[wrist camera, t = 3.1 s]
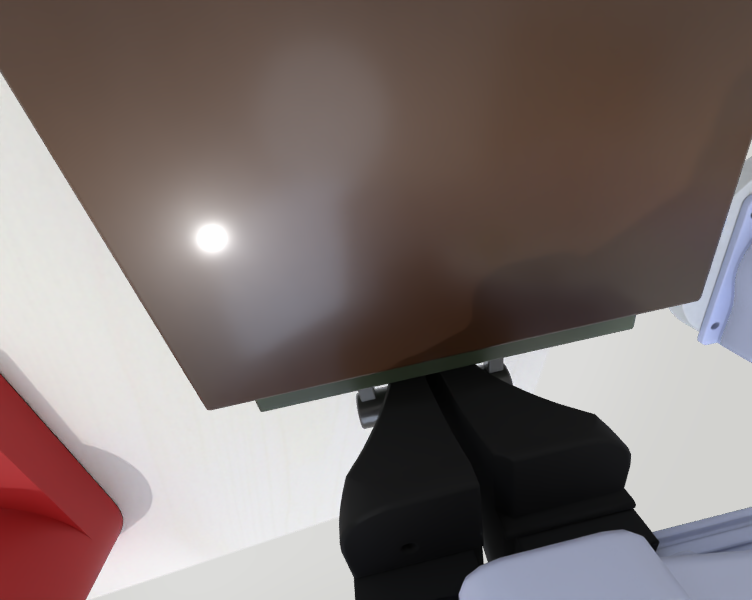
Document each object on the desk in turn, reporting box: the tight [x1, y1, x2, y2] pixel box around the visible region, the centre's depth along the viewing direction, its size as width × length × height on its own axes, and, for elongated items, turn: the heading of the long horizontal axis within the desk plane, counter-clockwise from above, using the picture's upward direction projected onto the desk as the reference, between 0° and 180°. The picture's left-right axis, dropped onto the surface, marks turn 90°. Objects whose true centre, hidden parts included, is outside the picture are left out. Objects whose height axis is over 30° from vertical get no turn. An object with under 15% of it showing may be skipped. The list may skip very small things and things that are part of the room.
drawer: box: [255, 315, 636, 429], centre depth 10 cm, size 17×10×7 cm, turn 11°
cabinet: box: [0, 0, 752, 410], centre depth 8 cm, size 14×11×9 cm
